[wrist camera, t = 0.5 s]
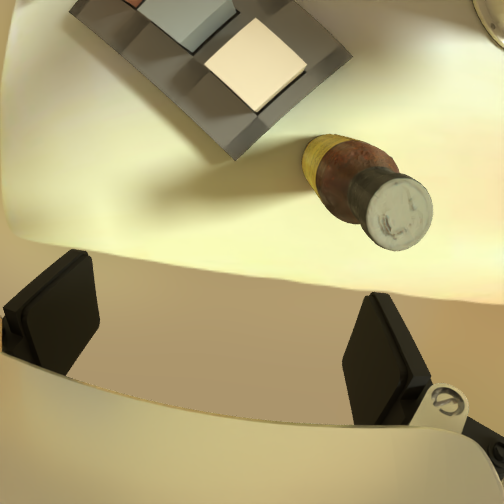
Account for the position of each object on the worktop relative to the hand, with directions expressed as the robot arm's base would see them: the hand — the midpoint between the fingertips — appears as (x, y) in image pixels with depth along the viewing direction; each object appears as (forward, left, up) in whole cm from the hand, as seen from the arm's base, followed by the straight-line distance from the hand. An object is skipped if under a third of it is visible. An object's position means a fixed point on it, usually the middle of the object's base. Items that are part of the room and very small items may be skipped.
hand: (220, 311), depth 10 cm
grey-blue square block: (-7, -17, -23) cm, 29 cm away
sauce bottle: (-6, +4, -26) cm, 28 cm away
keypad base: (-7, -17, -26) cm, 32 cm away
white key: (-7, -8, -23) cm, 25 cm away
